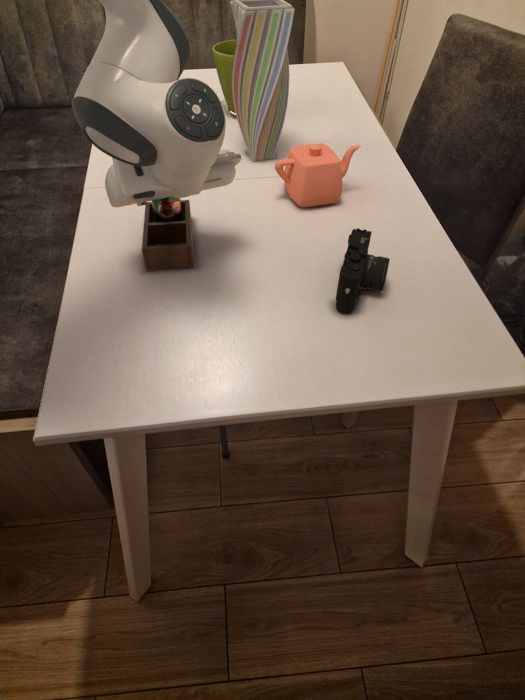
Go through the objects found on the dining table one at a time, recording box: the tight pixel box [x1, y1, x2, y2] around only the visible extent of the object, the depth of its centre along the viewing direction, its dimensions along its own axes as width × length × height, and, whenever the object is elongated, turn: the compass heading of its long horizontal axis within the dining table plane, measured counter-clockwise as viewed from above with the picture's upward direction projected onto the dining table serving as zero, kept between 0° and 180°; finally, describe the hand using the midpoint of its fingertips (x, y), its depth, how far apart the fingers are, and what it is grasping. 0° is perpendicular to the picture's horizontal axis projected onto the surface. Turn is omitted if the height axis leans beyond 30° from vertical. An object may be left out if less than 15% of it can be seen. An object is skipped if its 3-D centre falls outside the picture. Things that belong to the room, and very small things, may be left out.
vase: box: [230, 0, 295, 162], centre depth 104 cm, size 14×14×30 cm
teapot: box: [274, 142, 362, 208], centre depth 98 cm, size 12×18×10 cm, turn 106°
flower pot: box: [212, 39, 237, 119], centre depth 126 cm, size 15×15×16 cm
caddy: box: [141, 199, 195, 272], centre depth 87 cm, size 8×15×4 cm, turn 7°
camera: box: [335, 227, 390, 315], centre depth 77 cm, size 14×7×8 cm, turn 164°
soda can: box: [151, 197, 183, 223], centre depth 86 cm, size 5×5×12 cm
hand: (167, 195), depth 83 cm, fingers open, 8 cm apart
